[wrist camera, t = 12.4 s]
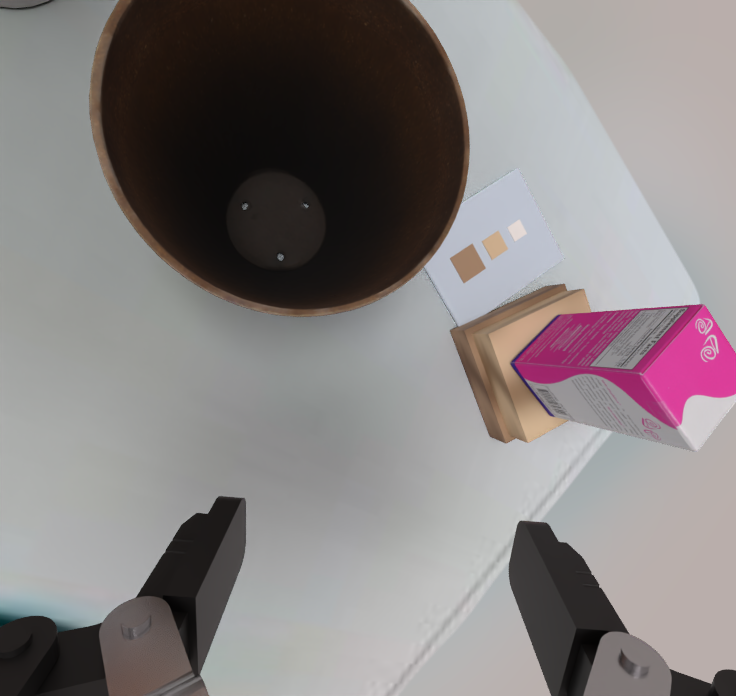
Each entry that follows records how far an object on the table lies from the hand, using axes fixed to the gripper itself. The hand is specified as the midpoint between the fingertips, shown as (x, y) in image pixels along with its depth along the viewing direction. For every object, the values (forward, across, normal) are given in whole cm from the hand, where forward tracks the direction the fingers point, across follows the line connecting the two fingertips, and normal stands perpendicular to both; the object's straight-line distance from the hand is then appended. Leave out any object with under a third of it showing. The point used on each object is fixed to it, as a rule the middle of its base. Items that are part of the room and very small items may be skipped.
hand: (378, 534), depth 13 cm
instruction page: (+28, -9, -7) cm, 30 cm away
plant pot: (+23, +8, -8) cm, 26 cm away
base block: (+26, -13, +2) cm, 29 cm away
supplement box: (+22, -14, +1) cm, 26 cm away
